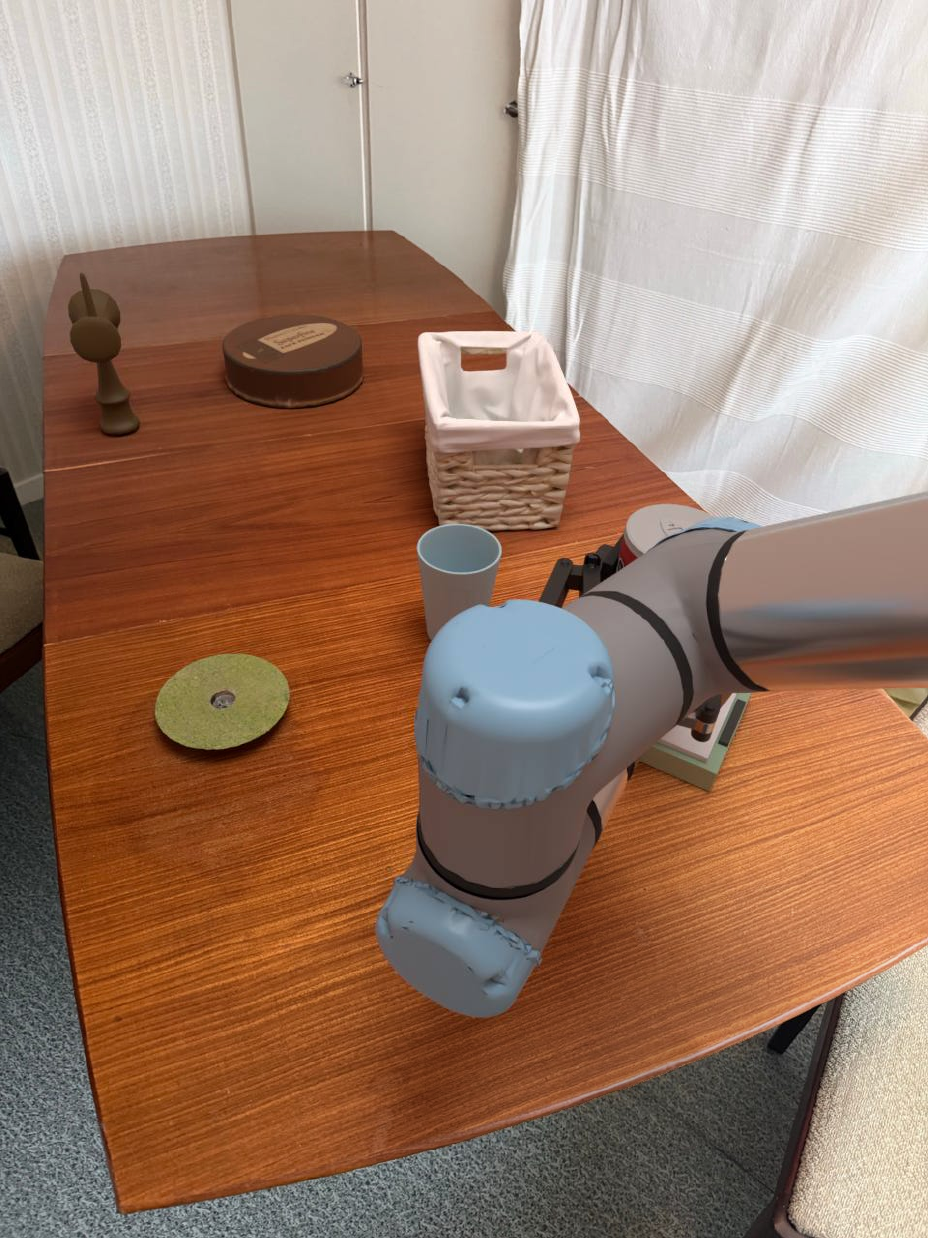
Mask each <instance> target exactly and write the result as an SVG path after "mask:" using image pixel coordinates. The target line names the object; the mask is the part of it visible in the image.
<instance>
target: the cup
mask: <svg viewBox="0 0 928 1238" xmlns="http://www.w3.org/2000/svg"><path fill="white" fill-rule="evenodd" d="M502 552H503V548H502V545H501V543H500V541H499V539H498V538H497V536H495V535H494V534H493V533H491V532H490V531H489V530H484V529H482V528H480V527H476V526H473V525H467V524H447V525H442V526H436V527H433V528H431V529H429V530H427V531H426V532H425V533H423V534H422V536H421V537H420V538H419V539H418V541H417V544H416V553H417V561H418V569H419V576H420V584H421V585H420V586H421V593H422V600H423V608H424V615H425V616H424V617H425V624H426V632H427V636H428V638H429V640H430V641H432V640H433V638H434V637H435V635H436V634H437V633H438V631H439V630H440V629H441V628H442V627H443V626H444V625H445V624H446V623H447V622H448V621H450V620H451V619H452V618H453V617H455V616H456V615H458V614H459V613H461V612H463V611H465V610H467V609H469V608H471V607H474V606H477V605H480V604H481V605H485V606H487V607H491V603H492V597H493V594H494V589H495V584H496V579H497V575H498V572H499V566H500V564H501V557H502Z"/></svg>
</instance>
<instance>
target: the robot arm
mask: <svg viewBox="0 0 928 1238" xmlns="http://www.w3.org/2000/svg"><path fill="white" fill-rule="evenodd" d="M623 534H624V532H622V535H621V536H620V537H619V539H618V540H617V541H616V543H615V544H614V545H610V544H607V543H603V544H601V545H599V547H598V548H597V550H596V551H595V552H587V553H585V555H584V559H583V564H574V562H573V560H572V559H570V558H568V557H561V558H558V559H557V560H556V562H555V564H554V565H553V566H554V567H553V568H552V571H551V573H550V574H549V577H548V580H547V582H546V584H545V586H544V588H543V590H542V592H541V595H540V597H539V599H538V601H537V600H531V599H520V598H519V599H518V598H515V599H507V600H505V601H504V603H502V604H501V605H495V606H490V607H487V606H485V605H481V604H480V605H477V606H474V607H471V608H469V609H467V610H465V611H463V612H461V613H459V614H458V615H456V616H455V617H453V618H452V619H451V620H450V621H448V622H447V623H446V624H445V625H444V626H443V627H442V628H441V629H440V630H439V631H438V633H437V634H436V635H435V637H434V638H433V640H432V641H431V640H430V641H431V642H430V643H429V645H428V647H427V650H426V653H425V655H424V658H423V662H422V663H423V664H422V674H421V681H420V690H419V691H418V699H417V708H416V710H415V711H416V712H415V714H414V730H413V731H414V733H413V735H414V737H413V738H414V741H415V745H416V753H417V771H418V772H417V774H418V812H417V816H416V822H415V853H414V856H413V858H412V860H411V862H410V864H409V865H408V867H407V868H406V869H405V871H404V872H403V873H402V875H398V876H396V878H395V879H394V881H393V887H392V888H391V890H390V892H389V894H388V896H387V897H386V900H385V901H384V903H383V905H382V907H381V908H380V910H379V912H378V914H377V917H376V920H375V927H374V928H375V931H374V932H375V938H376V942H377V944H378V947H379V950H380V951H381V953H382V954H383V956H384V958H385V959H386V961H387V962H388V964H389V965H390V966H391V968H392V969H393V970H394V971H395V972H396V974H398V975H399V976H400V977H401V979H403V980H404V982H406V983H407V985H409V986H410V987H412V988H413V989H414V990H415V991H417V992H418V993H420V994H421V995H423V996H424V997H426V998H427V999H428V1000H430V1001H433V1002H434V1003H436V1004H437V1005H439V1006H441V1007H442V1008H445V1009H447V1010H449V1011H451V1012H454V1013H457V1014H460V1015H462V1016H467V1017H469V1018H470V1017H471V1018H479V1019H482V1018H483V1019H484V1018H485V1019H486V1018H493V1017H496V1016H499V1015H502V1014H503V1013H505V1012H506V1011H508V1010H509V1009H510V1008H511V1007H512V1006H513V1005H514V1003H515V1002H516V1000H517V999H518V997H519V995H520V993H521V992H522V991H523V988H524V986H525V984H526V983H527V981H528V979H529V978H530V976H531V974H532V973H533V971H534V969H535V968H537V967H539V966H540V965H541V963H542V961H543V956H542V955H543V952H544V949H545V948H546V946H547V944H548V942H549V940H550V938H551V935H552V933H553V931H554V929H555V928H556V925H557V924H558V921H559V919H560V917H561V915H562V913H563V911H564V908H565V907H566V904H567V903H568V901H569V899H570V896H571V894H572V892H573V890H574V888H575V886H576V884H577V882H578V880H579V879H580V876H581V874H582V872H583V870H584V868H585V866H586V864H587V862H588V859H589V858H590V856H591V853H592V852H593V851H594V849H595V847H596V845H597V844H598V842H599V840H600V838H601V836H602V833H603V832H604V830H605V828H606V826H607V824H608V822H609V821H610V818H611V816H612V814H613V813H614V810H615V809H616V807H617V805H618V804H619V802H620V799H621V798H622V795H623V794H624V792H625V789H626V787H627V785H628V782H629V781H630V779H632V776H633V775H634V773H635V771H636V769H637V767H638V765H639V763H640V759H641V757H642V755H643V753H645V752H646V751H647V750H648V749H649V748H650V747H652V746H653V745H654V744H655V743H656V742H657V741H659V740H660V739H661V738H662V737H663V736H664V735H665V734H667V733H668V732H669V731H670V730H672V729H673V728H674V727H675V726H676V725H678V726H682V727H686V728H690V729H691V736H692V737H693V738H694V739H695V740H696V741H699V742H707V741H709V740H710V738H711V735H712V732H713V729H714V726H715V724H716V721H717V718H718V715H719V712H720V709H721V708H722V706H723V705H724V704H725V702H726V701H727V700H728V699H729V697H730V696H731V695H732V693H752V694H754V693H767V692H769V693H770V692H792V691H793V692H795V691H796V692H797V691H802V692H803V691H845V690H847V691H849V690H891V689H892V690H893V689H895V690H896V689H899V690H900V689H928V490H926V491H925V490H924V491H921V492H917V493H912V494H908V495H903V496H902V495H901V496H897V497H894V498H893V497H892V498H889V499H884V500H879V501H875V502H870V503H865V504H862V505H857V506H851V507H847V508H842V509H838V510H834V511H829V512H824V513H820V514H819V513H818V514H815V515H814V514H813V515H811V516H805V517H801V518H797V519H792V520H786V521H782V522H778V523H774V524H769V525H764V526H762V525H760V524H758V523H756V522H749V521H747V520H744V519H741V518H736V517H734V516H727V515H724V516H714V518H710V519H706V520H703V521H700V522H698V523H696V524H694V525H693V526H691V527H689V528H687V529H684V530H682V531H679V532H677V533H674V534H671V535H669V536H667V537H665V538H663V539H661V540H660V541H659V542H658V543H657V544H656V545H655V546H654V547H652V548H650V549H649V550H648V551H647V552H646V553H645V554H643V555H642V556H640V557H639V558H637V559H636V560H634V561H633V562H631V563H630V564H628V565H627V566H625V567H624V568H622V569H621V570H619V571H618V572H616V568H617V563H618V557H619V552H620V547H621V543H622V539H623ZM570 591H575V592H576V591H577V592H578V597H577V598H575V599H574V600H572V601H570V602H569V603H567V604H566V605H564V604H565V601H566V599H567V597H568V596H569V595H568V594H569V592H570Z"/></svg>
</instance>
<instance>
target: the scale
mask: <svg viewBox="0 0 928 1238" xmlns="http://www.w3.org/2000/svg"><path fill="white" fill-rule="evenodd" d="M752 694H753V693H732V695H731V696H730V697H729V699H728V700H727V701H726V702H725V704H724V705H723V706H722V708H721V709H720V712H719V715H718V718H717V721H716V724H715V726H714V729H713V732H712V735H711V738H710V740H709V741H707V742H699V741H696V740H695V739H694V738H693V737H692V736H691V729H690V728H686V727H682V726H678V725H676V726H675V727H674V728H673V729H672V730H670V731H669V732H668V733H667V734H665V735H664V736H663V737H662V738H661V739H660V740H659V741H657V742H656V743H655V744H654V745H653V746H652V747H650V748H649V749H648V750H647V751H646V752H645V753H643V755H642V757H641V759H640V761H639V763H640V762H641V763H643V764H645V765H646V766H647V765H648V766H650V767H652V768H654V769H656V770H659V771H661V772H663V773H665V774H668V775H670V776H673V777H675V778H677V779H679V780H682V781H684V782H686V783H688V784H691V785H693V786H694V787H695V786H696V787H697V788H700V789H702V790H703V791H707V792H709V793H710V792H712V789H713V787H714V784H715V782H716V780H717V777H718V775H719V773H720V770H721V768H722V766H723V763H724V761H725V758H726V756H727V753H728V752H729V749H730V747H731V745H732V742H733V740H734V737H735V735H736V734H737V733H736V732H737V730H738V728H739V725H740V723H741V721H742V720H743V716H744V714H745V712H746V709H747V706H748V705H749V702H750V700H751V697H752Z"/></svg>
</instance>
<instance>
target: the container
mask: <svg viewBox="0 0 928 1238" xmlns="http://www.w3.org/2000/svg"><path fill="white" fill-rule="evenodd" d="M221 347H222V354H223V358H224V366H225V372H226V373H225V374H226V378H225V379H226V383H227V385H228V388H229V389H230V390H231V391H232V392H233V393H234V394H235V395H237V396H238V397H240V398H241V399H242V400H243V399H244V400H245V401H247V402H251V403H253V404H257V405H261V406H267V407H271V408H272V407H274V408H279V409H301V408H302V409H303V408H308V407H309V408H310V407H318V406H321V405H325V404H329V403H334V402H336V401H338V400H341V399H344V398H345V397H347V396H349V395H351V394H352V393H353V392H355V391H356V390H357V389H358V388H359V386H360V385H361V384H362V383H363V380H364V378H365V373H364V371H365V369H364V365H363V364H364V363H363V342H362V338H361V335H360V334H359V333H358V332H357V330H355V329H354V328H353V327H351V326H350V325H348V324H347V323H344V322H341V321H339V320H336V319H334V318H330V317H326V316H319V315H316V314H315V315H314V314H300V313H299V314H297V313H295V314H294V313H293V314H292V313H290V314H289V313H288V314H277V315H269V316H265V317H261V318H256V319H253V320H250V321H246V322H244V323H242V324H240V325H238V326H236V327H234V328H233V329H231V330H230V331H229V332H228V333H227V334H226V335H225V337H224V338H223V340H222V344H221Z"/></svg>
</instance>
